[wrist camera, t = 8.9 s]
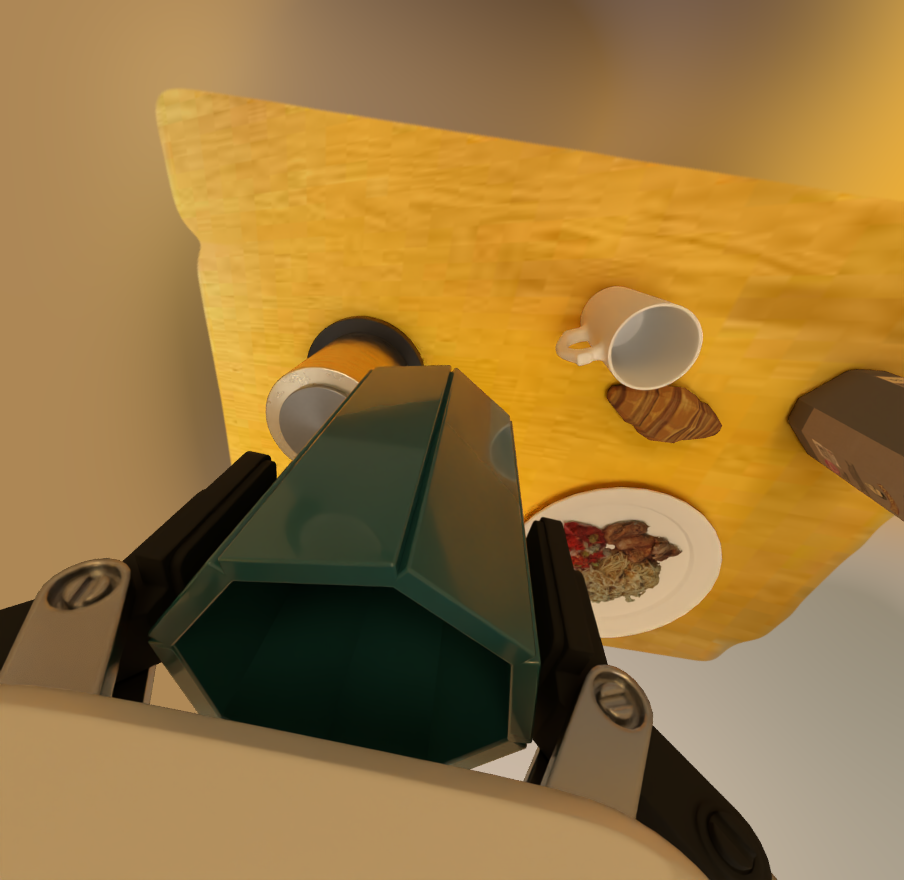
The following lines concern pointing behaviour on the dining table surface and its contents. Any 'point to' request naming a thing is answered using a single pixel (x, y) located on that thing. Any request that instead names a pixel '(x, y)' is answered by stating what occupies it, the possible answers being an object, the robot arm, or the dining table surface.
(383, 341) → the towel holder
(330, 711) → the teal cup
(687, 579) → the plated food
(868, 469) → the liquor
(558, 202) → the dining table surface
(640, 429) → the croissant
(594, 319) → the mug
